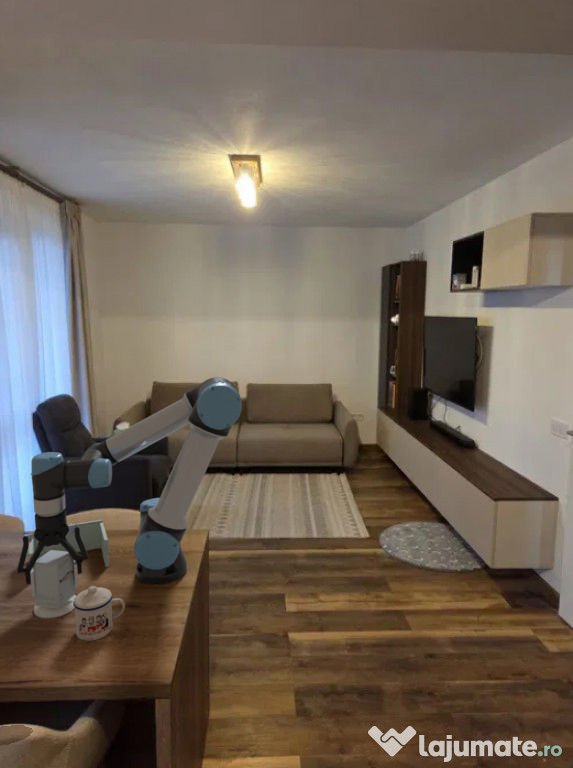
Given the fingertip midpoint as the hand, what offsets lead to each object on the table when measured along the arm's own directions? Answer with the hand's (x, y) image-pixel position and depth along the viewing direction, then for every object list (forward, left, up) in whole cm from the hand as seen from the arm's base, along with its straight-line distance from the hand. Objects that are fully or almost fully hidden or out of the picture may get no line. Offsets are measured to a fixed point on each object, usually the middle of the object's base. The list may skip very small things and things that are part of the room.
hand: (55, 589), depth 135 cm
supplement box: (0, 0, -3) cm, 3 cm away
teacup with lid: (-17, +7, -5) cm, 19 cm away
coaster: (0, 0, -5) cm, 5 cm away
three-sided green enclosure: (+10, -22, -5) cm, 25 cm away
